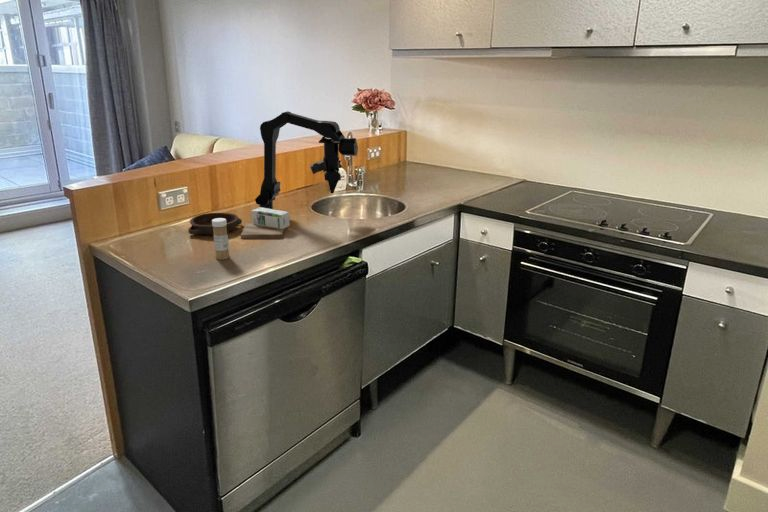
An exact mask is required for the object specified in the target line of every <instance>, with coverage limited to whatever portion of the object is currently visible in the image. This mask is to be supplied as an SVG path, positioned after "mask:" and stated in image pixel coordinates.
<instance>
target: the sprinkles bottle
mask: <svg viewBox="0 0 768 512" xmlns="http://www.w3.org/2000/svg"><path fill="white" fill-rule="evenodd" d="M212 226H213V232H214V235H213V244H214V251H215V259H216V260H223V261H224V260H228V259H229V258H230V253H229V251H230V250H229V237H228V232H227V228H226V226H227V222H226V219H225V218H216V219H213V220H212Z"/></svg>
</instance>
